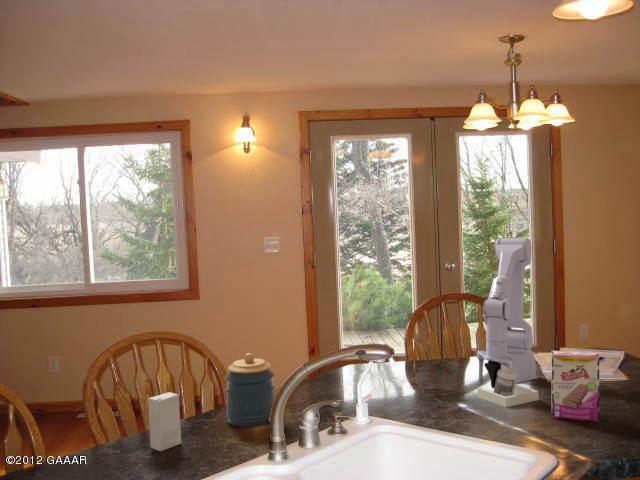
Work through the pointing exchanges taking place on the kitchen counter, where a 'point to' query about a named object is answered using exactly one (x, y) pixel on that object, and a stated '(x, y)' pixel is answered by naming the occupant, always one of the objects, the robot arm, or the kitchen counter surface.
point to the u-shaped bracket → (521, 396)
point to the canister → (249, 392)
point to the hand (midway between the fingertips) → (496, 387)
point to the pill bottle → (505, 380)
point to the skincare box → (164, 421)
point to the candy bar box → (575, 385)
